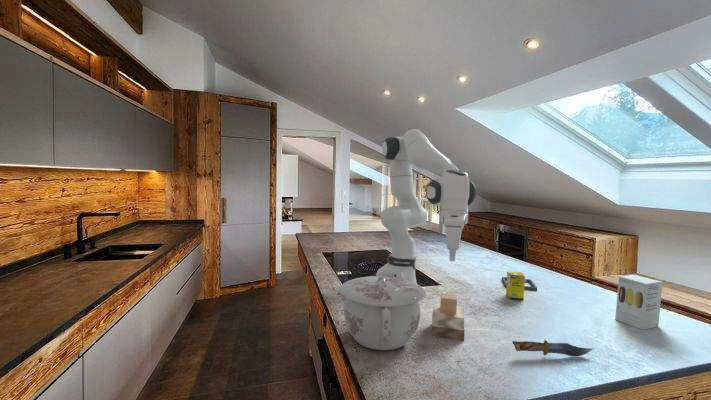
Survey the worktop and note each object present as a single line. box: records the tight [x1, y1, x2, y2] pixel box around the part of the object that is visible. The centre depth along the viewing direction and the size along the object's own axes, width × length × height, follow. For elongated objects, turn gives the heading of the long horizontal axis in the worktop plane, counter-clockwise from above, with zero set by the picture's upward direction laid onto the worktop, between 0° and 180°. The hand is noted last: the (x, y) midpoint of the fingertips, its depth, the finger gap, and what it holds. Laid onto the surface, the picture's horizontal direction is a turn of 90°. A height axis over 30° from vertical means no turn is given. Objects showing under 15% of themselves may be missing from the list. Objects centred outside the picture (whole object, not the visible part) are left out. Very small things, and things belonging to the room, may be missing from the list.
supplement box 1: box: [505, 270, 526, 301], centre depth 146 cm, size 6×6×11 cm
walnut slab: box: [431, 326, 465, 342], centre depth 113 cm, size 10×10×4 cm
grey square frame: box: [501, 276, 538, 291], centre depth 164 cm, size 14×14×2 cm
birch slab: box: [431, 302, 465, 330], centre depth 112 cm, size 10×10×4 cm
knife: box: [511, 339, 593, 358], centre depth 98 cm, size 25×1×5 cm, turn 92°
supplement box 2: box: [614, 274, 663, 331], centre depth 122 cm, size 10×9×17 cm
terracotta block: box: [439, 292, 458, 314], centre depth 112 cm, size 5×5×5 cm
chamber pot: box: [339, 275, 427, 351], centre depth 106 cm, size 28×28×21 cm
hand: (452, 257), depth 114 cm, fingers open, 8 cm apart
